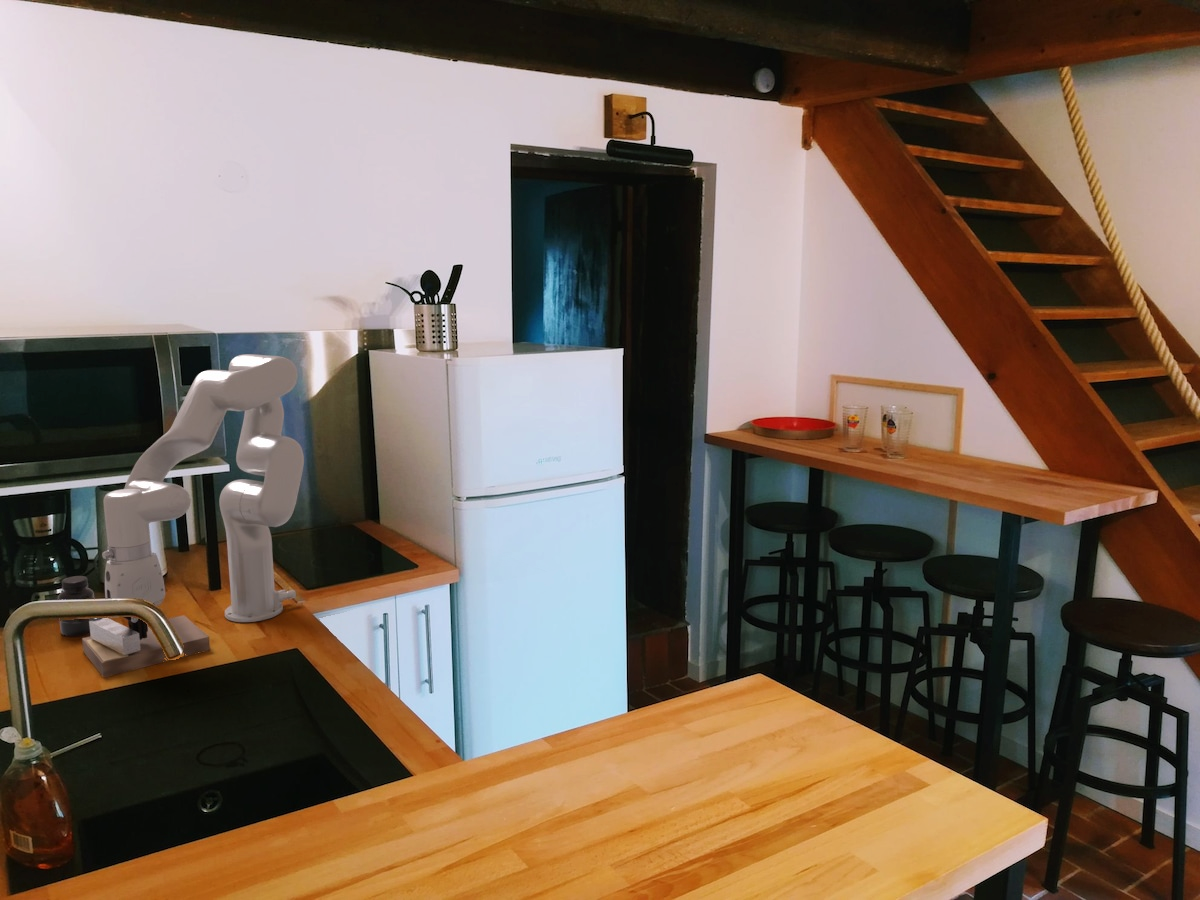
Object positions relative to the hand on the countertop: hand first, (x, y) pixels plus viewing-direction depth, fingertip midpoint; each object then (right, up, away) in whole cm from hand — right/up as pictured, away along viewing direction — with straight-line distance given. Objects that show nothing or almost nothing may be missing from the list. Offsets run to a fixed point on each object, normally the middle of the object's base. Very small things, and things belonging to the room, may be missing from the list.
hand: (139, 637), depth 180 cm
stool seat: (0, -4, +4) cm, 6 cm away
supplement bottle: (-21, -2, +14) cm, 25 cm away
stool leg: (-5, -1, -1) cm, 5 cm away
